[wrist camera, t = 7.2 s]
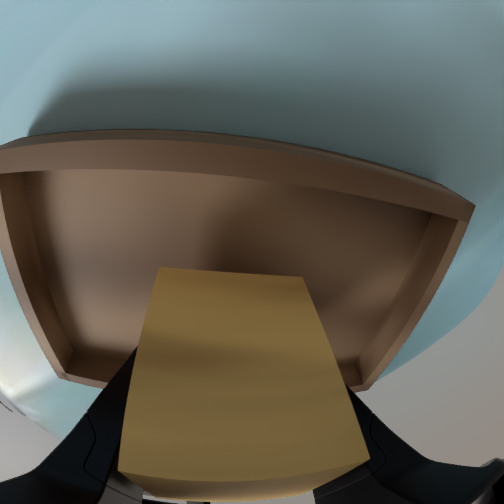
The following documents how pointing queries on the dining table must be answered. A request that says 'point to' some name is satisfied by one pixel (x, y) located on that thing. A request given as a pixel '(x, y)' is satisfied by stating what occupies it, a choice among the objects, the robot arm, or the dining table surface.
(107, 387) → the robot arm
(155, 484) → the ochre block
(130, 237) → the walnut tray
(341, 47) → the dining table surface
